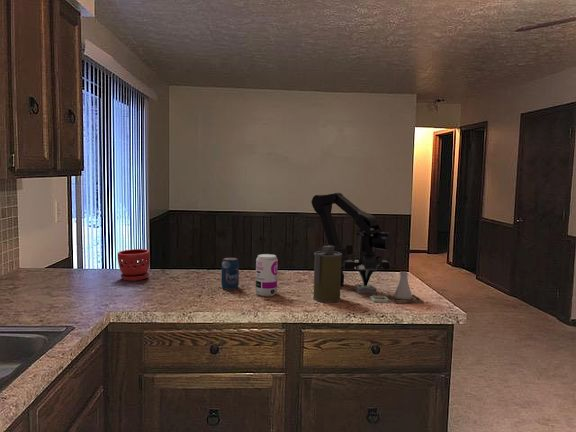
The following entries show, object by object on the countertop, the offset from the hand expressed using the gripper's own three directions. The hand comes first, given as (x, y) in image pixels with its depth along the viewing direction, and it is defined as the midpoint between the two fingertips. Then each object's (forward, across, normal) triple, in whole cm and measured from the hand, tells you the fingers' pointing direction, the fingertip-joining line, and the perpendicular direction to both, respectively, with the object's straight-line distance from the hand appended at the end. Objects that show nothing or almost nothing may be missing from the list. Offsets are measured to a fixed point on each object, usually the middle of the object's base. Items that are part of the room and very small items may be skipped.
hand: (365, 285), depth 194 cm
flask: (+3, +12, -10) cm, 16 cm away
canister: (+2, -18, -11) cm, 21 cm away
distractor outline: (+2, +2, -13) cm, 13 cm away
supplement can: (+3, -40, -3) cm, 40 cm away
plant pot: (+3, -95, +24) cm, 98 cm away
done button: (+2, 0, 0) cm, 2 cm away
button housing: (+2, 0, 0) cm, 2 cm away
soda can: (+3, -54, +7) cm, 55 cm away
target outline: (+2, +12, -13) cm, 18 cm away
